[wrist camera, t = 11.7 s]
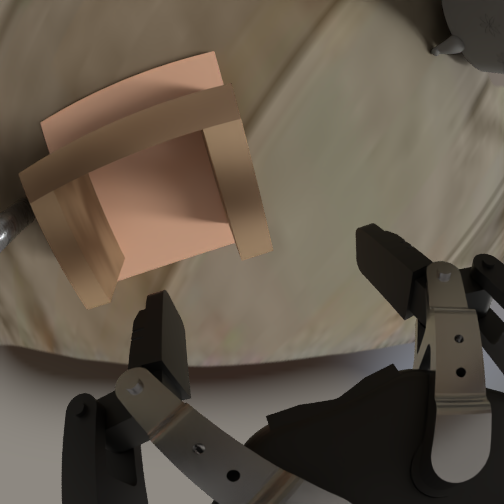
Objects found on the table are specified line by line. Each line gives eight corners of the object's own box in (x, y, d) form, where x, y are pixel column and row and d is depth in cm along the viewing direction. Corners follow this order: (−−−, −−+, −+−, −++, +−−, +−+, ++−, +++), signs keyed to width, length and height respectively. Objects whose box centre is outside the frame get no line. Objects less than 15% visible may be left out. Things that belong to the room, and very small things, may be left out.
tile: (44, 122, 16) (40, 122, 15) (213, 53, 17) (214, 51, 16) (110, 279, 23) (109, 283, 22) (259, 230, 24) (262, 234, 23)
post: (11, 204, 18) (-26, 232, 12) (28, 194, 18) (-9, 220, 13) (21, 227, 19) (-12, 260, 14) (38, 218, 19) (5, 250, 14)
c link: (57, 155, 17) (18, 173, 11) (219, 91, 18) (231, 82, 12) (105, 265, 22) (87, 309, 16) (252, 215, 23) (273, 250, 17)
